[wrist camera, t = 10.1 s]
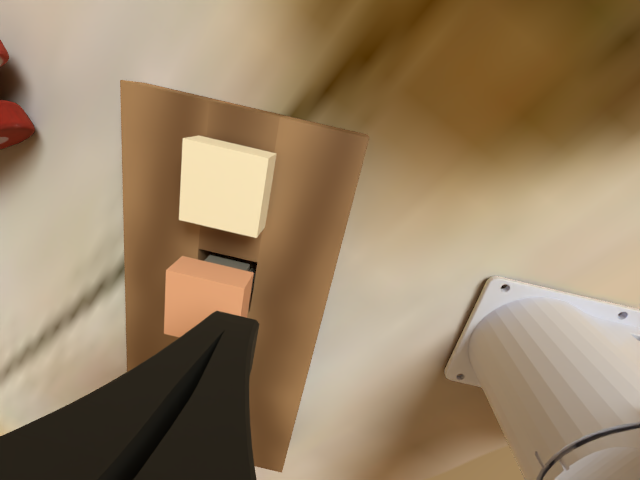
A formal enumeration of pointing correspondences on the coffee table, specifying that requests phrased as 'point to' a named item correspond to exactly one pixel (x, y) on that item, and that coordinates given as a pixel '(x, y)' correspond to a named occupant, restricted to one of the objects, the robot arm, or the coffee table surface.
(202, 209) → the cream key
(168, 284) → the terracotta key
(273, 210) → the brown wooden board
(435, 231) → the coffee table surface
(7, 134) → the dark red teddy bear
